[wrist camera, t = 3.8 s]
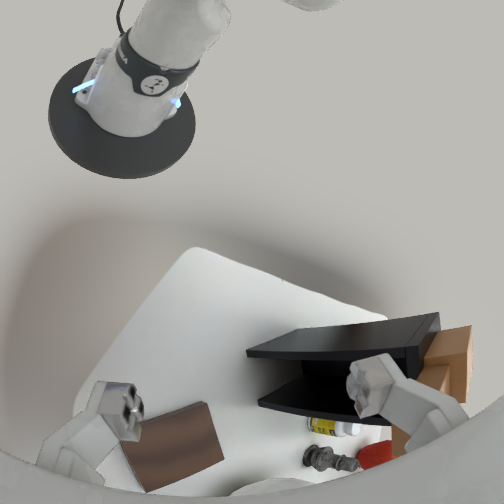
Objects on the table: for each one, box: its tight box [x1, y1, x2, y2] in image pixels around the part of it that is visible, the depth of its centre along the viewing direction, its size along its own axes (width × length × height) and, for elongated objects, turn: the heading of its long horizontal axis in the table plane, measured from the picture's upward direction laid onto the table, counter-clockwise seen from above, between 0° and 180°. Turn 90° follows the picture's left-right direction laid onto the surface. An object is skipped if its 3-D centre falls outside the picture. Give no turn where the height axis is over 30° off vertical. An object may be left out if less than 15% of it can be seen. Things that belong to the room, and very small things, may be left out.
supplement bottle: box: [308, 417, 362, 437], centre depth 43 cm, size 5×5×10 cm
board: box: [119, 401, 224, 493], centre depth 28 cm, size 10×13×2 cm
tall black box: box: [246, 312, 441, 426], centre depth 35 cm, size 10×13×26 cm
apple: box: [357, 440, 400, 470], centre depth 51 cm, size 11×11×12 cm
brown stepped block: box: [391, 325, 473, 456], centre depth 20 cm, size 6×19×5 cm, turn 106°
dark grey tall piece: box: [303, 445, 362, 472], centre depth 40 cm, size 6×6×12 cm
